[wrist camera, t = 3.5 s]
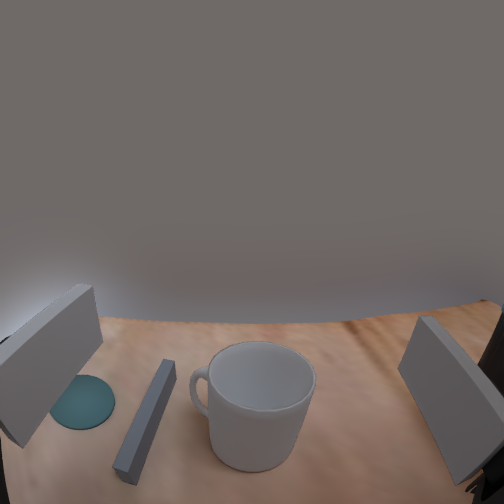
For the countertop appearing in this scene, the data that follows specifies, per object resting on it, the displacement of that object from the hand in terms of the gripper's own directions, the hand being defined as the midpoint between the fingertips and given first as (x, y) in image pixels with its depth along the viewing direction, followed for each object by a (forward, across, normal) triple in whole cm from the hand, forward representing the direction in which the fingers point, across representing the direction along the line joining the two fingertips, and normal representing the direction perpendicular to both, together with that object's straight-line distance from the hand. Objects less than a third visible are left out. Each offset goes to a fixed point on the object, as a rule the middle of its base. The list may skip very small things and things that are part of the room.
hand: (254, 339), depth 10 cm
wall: (+10, -10, -22) cm, 26 cm away
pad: (+10, -21, -22) cm, 32 cm away
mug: (+10, 0, -22) cm, 24 cm away
